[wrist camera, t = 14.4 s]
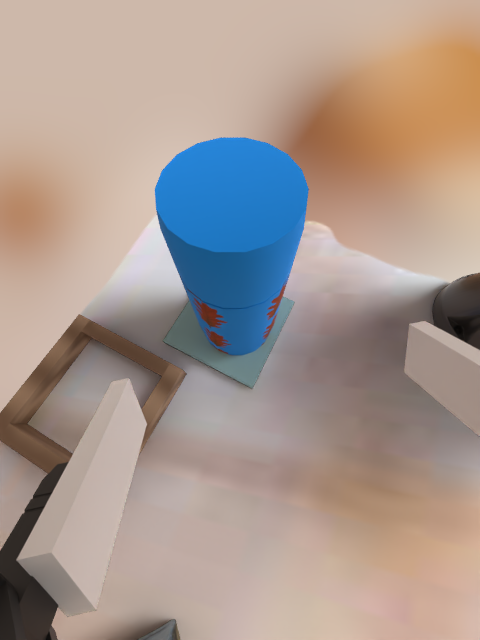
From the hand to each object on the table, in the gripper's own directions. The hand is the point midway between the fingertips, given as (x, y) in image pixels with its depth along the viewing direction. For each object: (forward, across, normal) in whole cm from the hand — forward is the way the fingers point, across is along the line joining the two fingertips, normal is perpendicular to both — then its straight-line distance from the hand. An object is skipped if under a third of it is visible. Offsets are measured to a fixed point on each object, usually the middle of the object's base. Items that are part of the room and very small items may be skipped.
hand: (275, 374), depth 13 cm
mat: (+28, -1, -10) cm, 30 cm away
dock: (+22, -22, -15) cm, 35 cm away
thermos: (+28, 0, -10) cm, 29 cm away
